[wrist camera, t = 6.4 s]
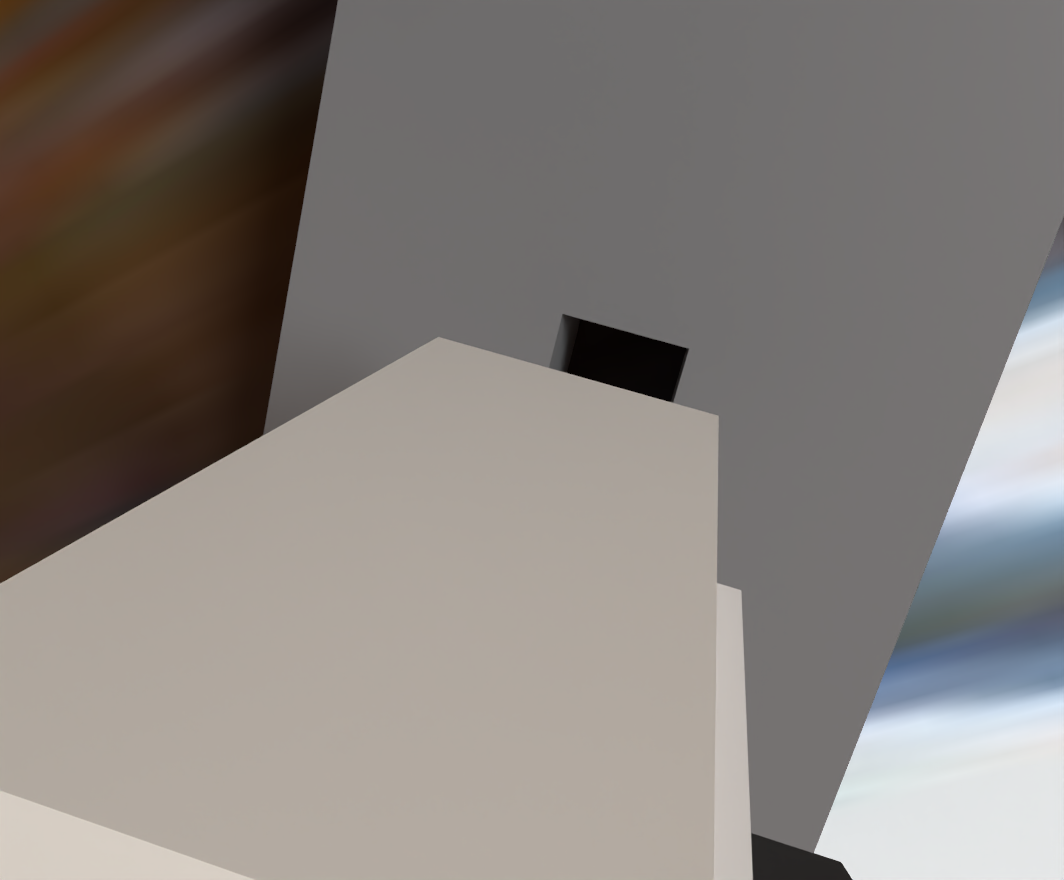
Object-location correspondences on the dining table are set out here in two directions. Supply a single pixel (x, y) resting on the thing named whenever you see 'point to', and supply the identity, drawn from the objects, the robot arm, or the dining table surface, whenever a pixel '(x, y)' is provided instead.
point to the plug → (384, 647)
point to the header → (713, 271)
